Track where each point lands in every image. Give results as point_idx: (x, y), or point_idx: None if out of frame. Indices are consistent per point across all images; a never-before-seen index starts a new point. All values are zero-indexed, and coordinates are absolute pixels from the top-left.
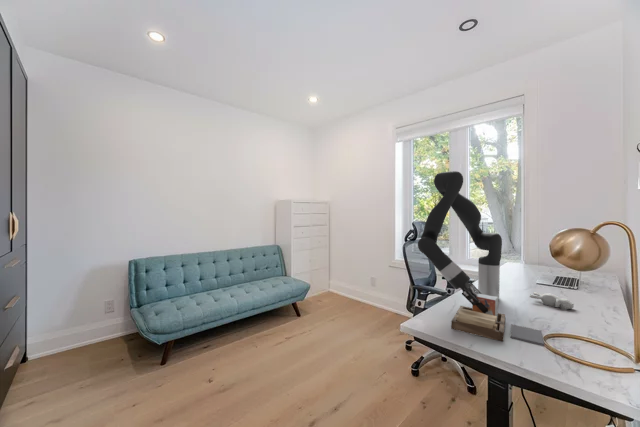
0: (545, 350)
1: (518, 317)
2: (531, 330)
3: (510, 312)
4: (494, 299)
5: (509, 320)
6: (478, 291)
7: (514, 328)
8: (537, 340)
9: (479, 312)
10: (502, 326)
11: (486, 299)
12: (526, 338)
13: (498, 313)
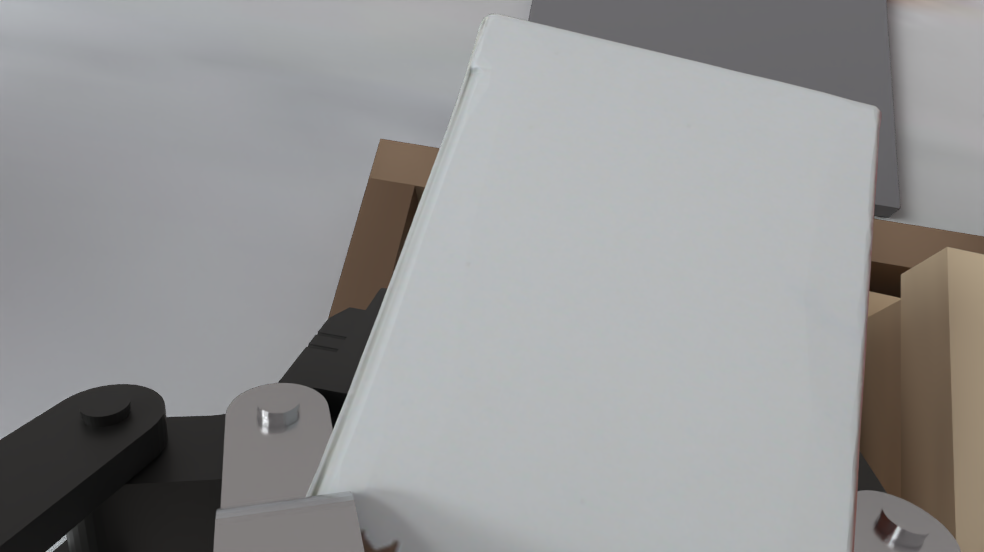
0: (976, 8)
1: (173, 44)
2: (593, 4)
3: (7, 89)
4: (821, 114)
5: (320, 144)
6: (256, 515)
7: None
8: (842, 10)
9: (959, 544)
10: (929, 240)
11: (854, 318)
12: (858, 82)
13: (379, 216)
